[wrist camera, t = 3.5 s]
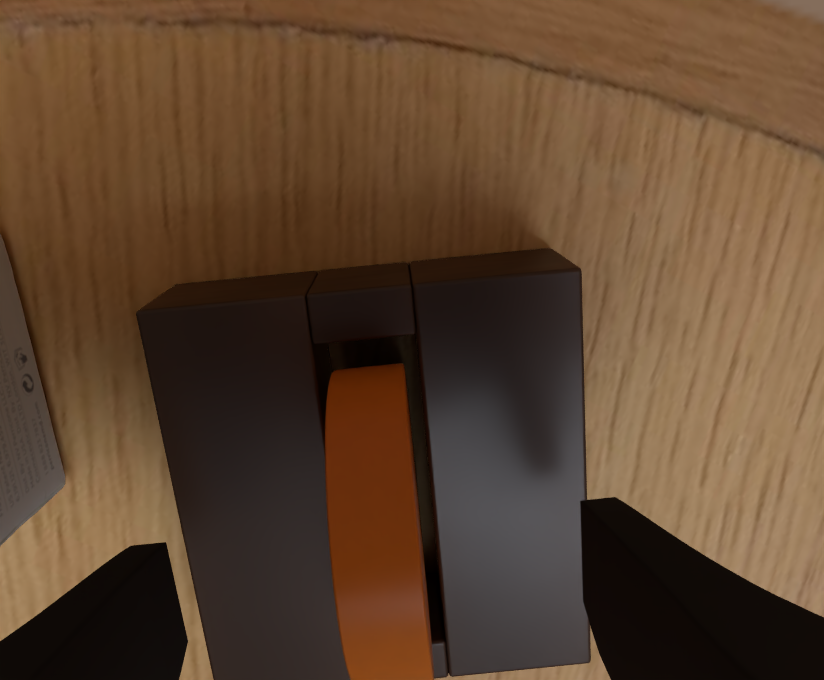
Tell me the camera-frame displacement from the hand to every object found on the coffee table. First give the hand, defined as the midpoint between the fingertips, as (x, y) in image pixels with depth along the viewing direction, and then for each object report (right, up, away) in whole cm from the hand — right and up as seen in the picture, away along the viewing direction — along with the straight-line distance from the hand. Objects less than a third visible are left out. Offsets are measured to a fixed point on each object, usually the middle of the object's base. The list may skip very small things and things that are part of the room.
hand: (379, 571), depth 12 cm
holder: (0, +1, +5) cm, 5 cm away
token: (0, +1, +5) cm, 5 cm away
